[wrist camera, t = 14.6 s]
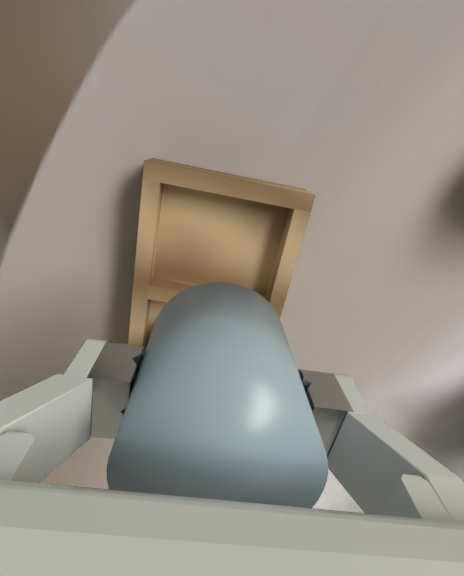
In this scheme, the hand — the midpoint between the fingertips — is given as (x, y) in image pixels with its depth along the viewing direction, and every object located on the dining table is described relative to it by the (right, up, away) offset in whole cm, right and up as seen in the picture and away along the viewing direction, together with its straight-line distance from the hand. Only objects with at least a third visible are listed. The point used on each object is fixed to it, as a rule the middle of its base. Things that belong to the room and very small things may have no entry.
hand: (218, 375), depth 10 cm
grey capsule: (0, +1, +2) cm, 2 cm away
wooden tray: (-1, +3, +15) cm, 15 cm away
